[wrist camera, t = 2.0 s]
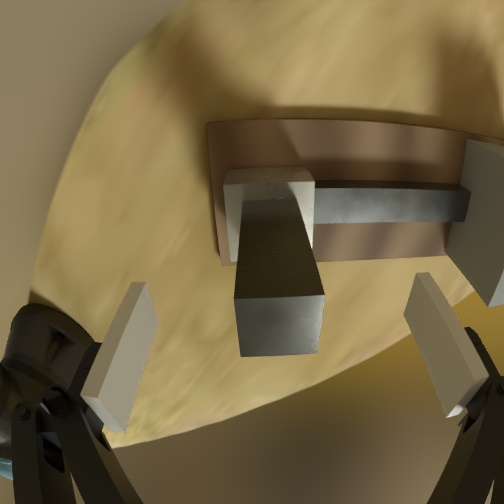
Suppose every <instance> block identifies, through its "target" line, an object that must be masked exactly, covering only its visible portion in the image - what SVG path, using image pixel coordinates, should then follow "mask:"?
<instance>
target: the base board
mask: <svg viewBox="0 0 504 504" xmlns="http://www.w3.org/2000/svg"><path fill="white" fill-rule="evenodd" d="M206 131H207V141H208V152H209V162H210V172H211V181H212V191H213V200H214V209H215V218H216V226H217V235H218V243H219V251H220V259H221V266H232V265H237V262H231V259H230V250H229V240H228V230H227V220H226V210H225V199H224V189H223V184H224V180H225V177H226V174H228V170H229V169H244V168H266V167H306V169H307V171H309V172H310V174H311V175H312V177H313V179H314V180H386V181H414V182H434V183H450V184H460V183H461V177H462V171H463V164H464V157H465V150H466V142H467V139H470V140H475V141H481V142H486V143H491V144H496V145H501V146H504V140H500V139H496V138H491V137H486V136H482V135H476V134H471V133H466V132H460V131H454V130H448V129H442V128H435V127H427V126H420V125H411V124H402V123H392V122H380V121H367V120H349V119H317V118H285V119H253V120H235V121H221V122H209V123H207V124H206ZM451 226H452V222H373V223H328V224H313V241H312V251H313V254H314V258H315V261H316V262H330V261H352V260H372V259H392V258H411V257H429V256H447V254H446V253H445V249H446V245H447V241H448V238H449V234H450V230H451Z"/></svg>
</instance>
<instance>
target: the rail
mask: <svg viewBox="0 0 504 504" xmlns="http://www.w3.org/2000/svg"><path fill="white" fill-rule="evenodd" d="M314 181H315V191H314V220H313V224H328V223H373V222H465V219H466V214H467V210H468V206H469V201H470V196H471V192H470V191H469V190H468V189H466V188H465V187H463V186H462V185H461V184H450V183H434V182H414V181H386V180H314Z"/></svg>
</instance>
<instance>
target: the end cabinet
mask: <svg viewBox="0 0 504 504" xmlns="http://www.w3.org/2000/svg"><path fill="white" fill-rule="evenodd" d="M460 184H461V185H462V186H463V187H465V188H466V189H468V190H469V191H470V192H471V196H470V201H469V206H468V210H467V214H466V219H465V222H452V226H451V230H450V234H449V238H448V241H447V245H446V249H445V253H446V254H447V255H448V256H449V257H450V259H451V260H452V261H453V262H454V263H455V265H456V266H457V267H458V268H459V270H460V271H461V272H462V273H463V275H464V276H465V277H466V279H467V280H468V281H469V282H470V284H471V285H472V286H473V288H474V289H475V290H476V292H477V293H478V294H479V296H480V297H481V298H482V300H483V301H484V303H485V304H486V305H487V307H491V306H497V305H502V304H504V146H501V145H496V144H491V143H486V142H481V141H475V140H470V139H467V142H466V150H465V157H464V164H463V171H462V177H461V183H460Z"/></svg>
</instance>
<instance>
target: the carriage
mask: <svg viewBox="0 0 504 504" xmlns="http://www.w3.org/2000/svg"><path fill="white" fill-rule="evenodd" d="M223 189H224V199H225V210H226V220H227V230H228V240H229V250H230V259H231V262H237V268H236V280H235V292H234V305H235V313H236V322H237V330H238V338H239V347H240V355H241V357H255V356H282V355H300V354H315V353H317V352H318V345H319V338H320V330H321V323H322V315H323V307H324V299H325V294H324V290H323V286H322V283H321V279H320V275H319V272H318V268H317V265H316V261H315V258H314V254H313V251H312V241H313V220H314V191H315V181H314V179H313V177H312V175H311V174H310V172H309V171H307V169H306V167H266V168H244V169H229V170H228V174H226V177H225V180H224V184H223Z"/></svg>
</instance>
